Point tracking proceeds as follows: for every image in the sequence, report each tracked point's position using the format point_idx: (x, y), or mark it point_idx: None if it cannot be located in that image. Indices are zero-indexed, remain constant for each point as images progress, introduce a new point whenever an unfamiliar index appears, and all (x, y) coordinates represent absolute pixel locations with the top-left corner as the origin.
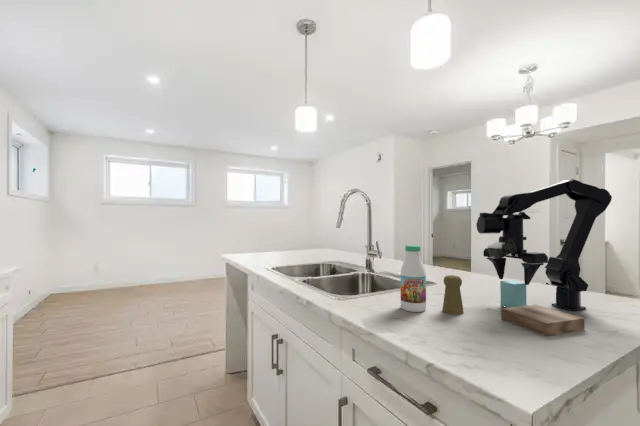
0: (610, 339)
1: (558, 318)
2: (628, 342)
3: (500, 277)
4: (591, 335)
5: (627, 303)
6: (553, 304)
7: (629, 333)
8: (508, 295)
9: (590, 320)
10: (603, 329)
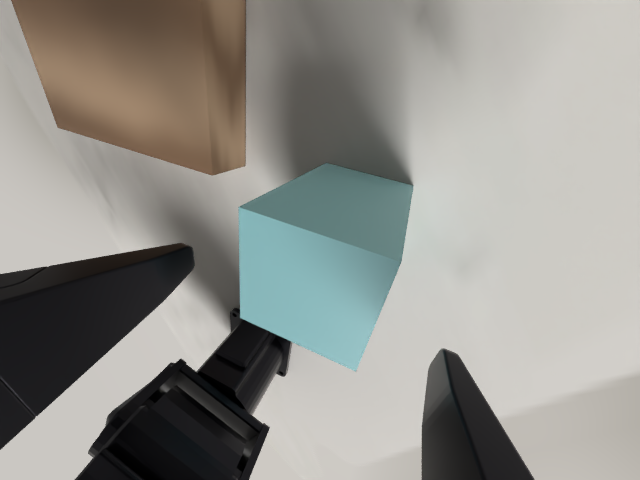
0: None
1: (33, 3)
2: (42, 118)
3: (443, 365)
4: None
5: None
6: None
7: (94, 202)
8: (339, 190)
9: None
10: (113, 184)
